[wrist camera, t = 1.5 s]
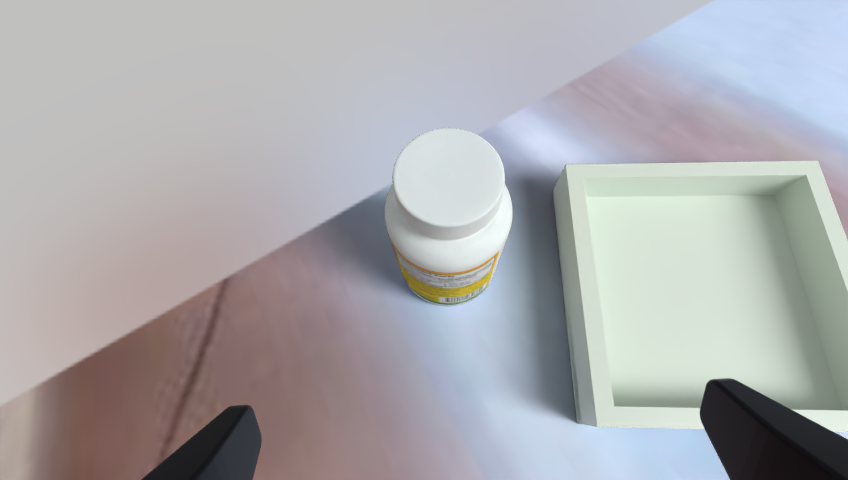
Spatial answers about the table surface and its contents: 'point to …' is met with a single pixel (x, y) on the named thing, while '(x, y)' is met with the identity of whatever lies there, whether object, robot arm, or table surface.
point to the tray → (702, 289)
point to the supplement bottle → (448, 215)
